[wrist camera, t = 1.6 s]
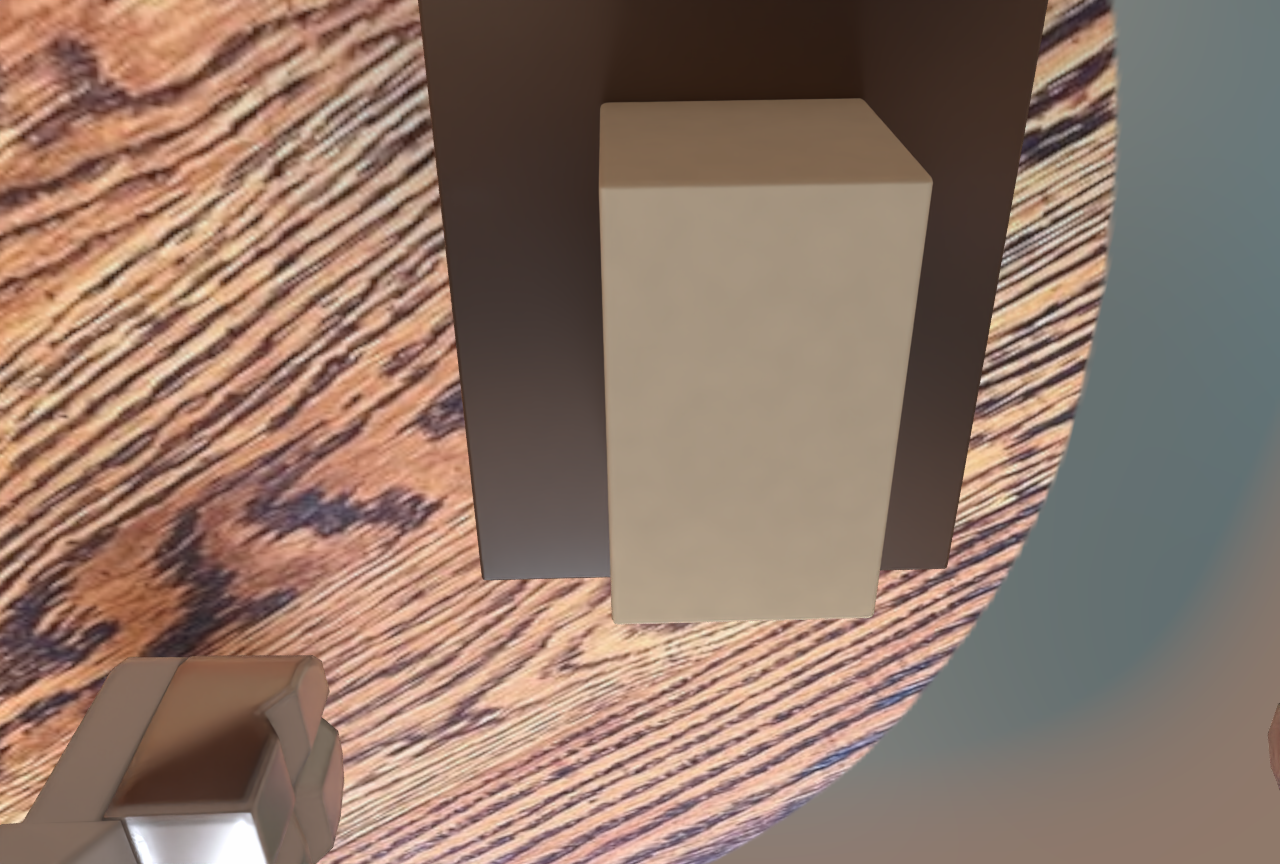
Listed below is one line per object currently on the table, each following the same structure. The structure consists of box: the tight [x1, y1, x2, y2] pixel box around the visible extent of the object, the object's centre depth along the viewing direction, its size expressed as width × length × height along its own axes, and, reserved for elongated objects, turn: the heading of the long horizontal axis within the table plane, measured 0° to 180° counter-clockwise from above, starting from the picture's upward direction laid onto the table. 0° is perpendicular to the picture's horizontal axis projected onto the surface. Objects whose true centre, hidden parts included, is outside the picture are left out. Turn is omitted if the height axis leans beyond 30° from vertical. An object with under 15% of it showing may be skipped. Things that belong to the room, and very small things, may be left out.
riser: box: [418, 0, 1048, 580], centre depth 21 cm, size 10×8×14 cm
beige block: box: [599, 98, 933, 624], centre depth 14 cm, size 6×4×4 cm, turn 1°
